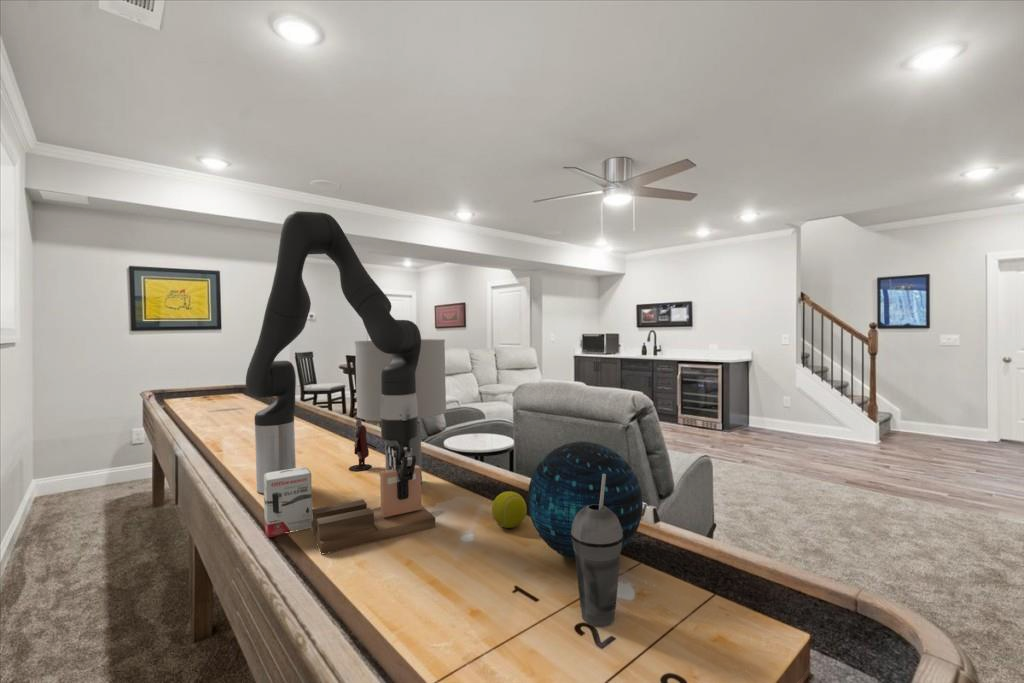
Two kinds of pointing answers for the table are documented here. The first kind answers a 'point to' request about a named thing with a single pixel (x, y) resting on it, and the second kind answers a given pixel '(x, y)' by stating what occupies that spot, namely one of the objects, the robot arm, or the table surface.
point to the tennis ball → (509, 509)
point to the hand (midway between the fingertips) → (401, 496)
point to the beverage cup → (597, 560)
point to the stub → (389, 493)
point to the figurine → (361, 447)
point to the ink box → (287, 501)
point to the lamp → (427, 385)
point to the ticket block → (362, 525)
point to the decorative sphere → (581, 492)
